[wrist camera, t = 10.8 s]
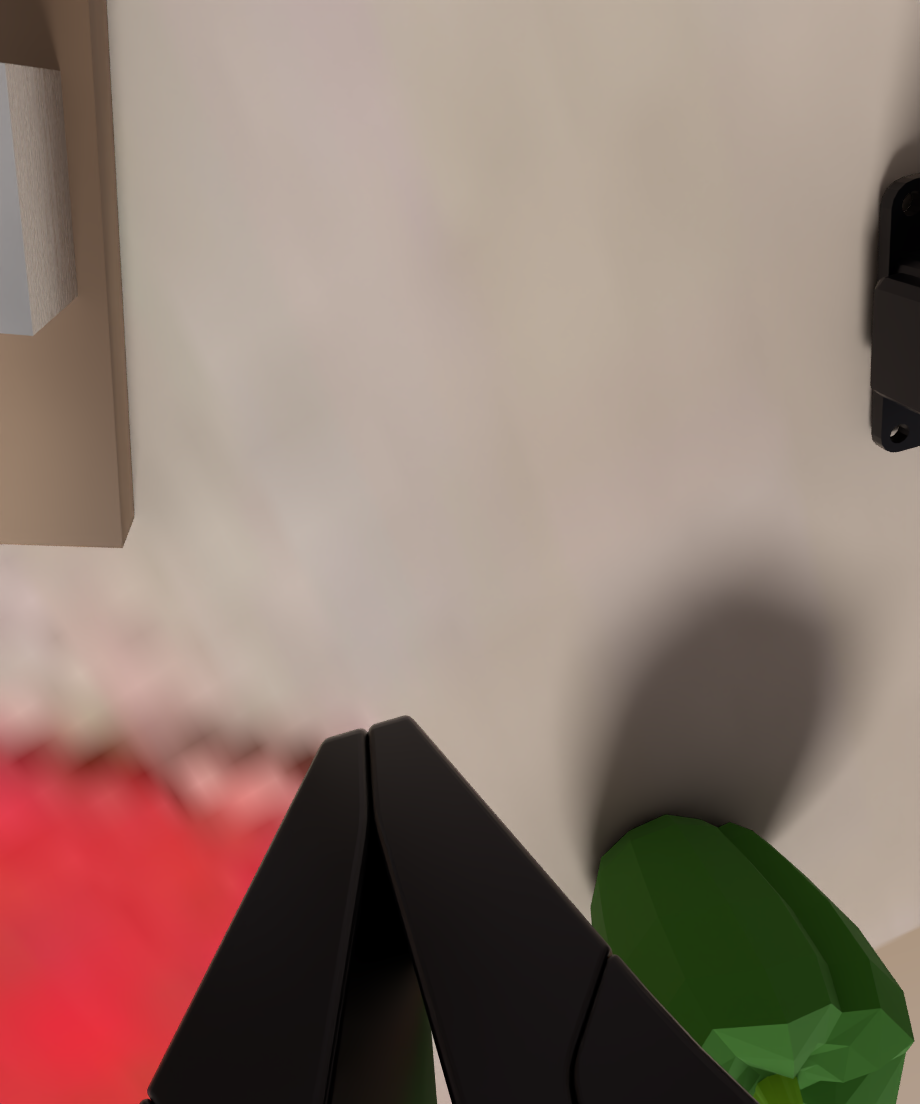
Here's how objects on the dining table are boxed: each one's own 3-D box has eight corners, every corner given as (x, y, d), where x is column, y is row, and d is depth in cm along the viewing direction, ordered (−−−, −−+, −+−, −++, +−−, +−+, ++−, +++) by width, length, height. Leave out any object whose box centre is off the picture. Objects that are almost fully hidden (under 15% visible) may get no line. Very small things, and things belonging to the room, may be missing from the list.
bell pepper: (717, 730, 25) (935, 1053, 17) (817, 860, 29) (1036, 1176, 21) (498, 873, 27) (596, 1241, 18) (622, 979, 31) (751, 1323, 22)
